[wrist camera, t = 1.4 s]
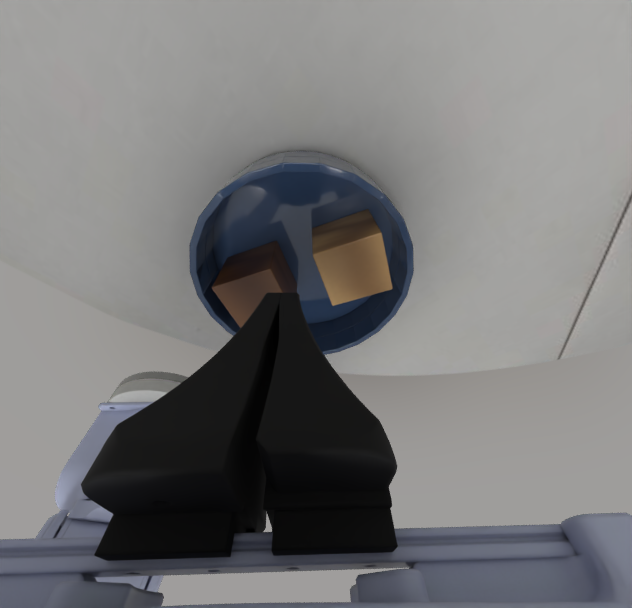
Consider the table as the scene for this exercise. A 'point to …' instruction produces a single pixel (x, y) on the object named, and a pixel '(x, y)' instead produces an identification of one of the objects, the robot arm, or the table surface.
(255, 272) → the walnut block
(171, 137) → the table surface
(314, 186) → the bowl
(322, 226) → the beech block
